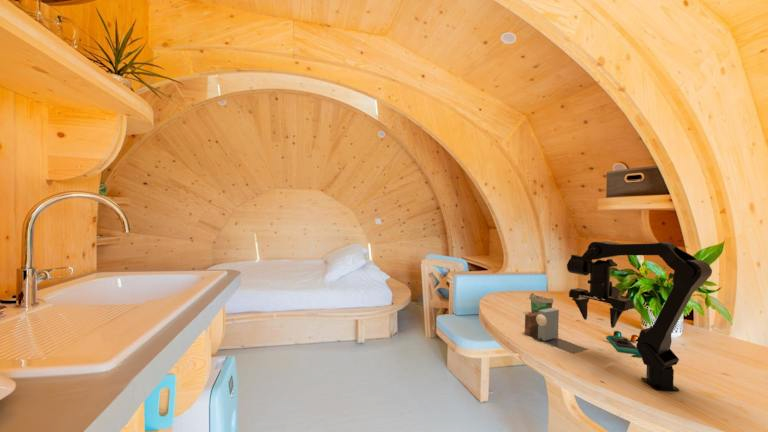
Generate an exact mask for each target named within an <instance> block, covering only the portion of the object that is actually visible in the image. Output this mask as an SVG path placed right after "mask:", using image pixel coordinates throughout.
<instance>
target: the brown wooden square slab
mask: <svg viewBox="0 0 768 432" xmlns="http://www.w3.org/2000/svg"><path fill="white" fill-rule="evenodd" d="M537 315H538V312H536V313H532V312H531V313H526V314H524V333H525V334H526V335H525V336H527V335H529V336H532V335H536V334H538V323H537V321H536V317H537ZM529 336H528V337H529Z"/></svg>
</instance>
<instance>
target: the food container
mask: <svg viewBox="0 0 768 432" xmlns="http://www.w3.org/2000/svg"><path fill="white" fill-rule="evenodd" d="M528 299H529V300H530V311H531V313H536V312H538V310H543V309H548V308H553V304H554V303H555V302H554V299H553V298H547V297H545V296H540V295H539V296H538V295H536V294H534V292H532V293H530V294H529V297H528Z"/></svg>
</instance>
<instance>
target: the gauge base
mask: <svg viewBox="0 0 768 432" xmlns="http://www.w3.org/2000/svg"><path fill="white" fill-rule="evenodd" d="M521 334H522V335H525V336H527V337H530V338H532V340H534V341H536V342H538V343H539V342H540V343H542V344H543V345H546V346H549V347H551V348H557V349H560V350H562V351H564V352H566V353H569V354H572V355H574V354H577V353H581V352H584V351H588V350H589V349H588V348H587V347H584V346H581V345H578V344H575V343H572V342H571V341H570V342H569V341H567V340H564V339H562V338H559V337H558V338H554V339H550V340H546V341H544V340H537V339H538V334H536V335H532V336H529V335H526V334H525V332H522V333H521Z"/></svg>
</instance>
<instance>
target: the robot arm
mask: <svg viewBox="0 0 768 432" xmlns="http://www.w3.org/2000/svg"><path fill="white" fill-rule="evenodd" d="M620 256H658V257H660V258H661V259H662V260H663V262H664V263H666V265H667V266H668V267H669V268H670V269H672V270H673V275H672V288H671V290H670V292H669V294H668V296H667V298H666V300H665V302H664V304H663V306H662V308H661V309H660V311H659V313H658V316H657V317H656V320H655V321H654V324H653V325H652V326H650V327H647V328H644V329H641V330H640V331H639V334H638V338H636V339H635V342H636V345H635V347H636V348H637V349H638V352H639V353H640V354H641V357H640V358H641V359H642V362H643V365H645V366H646V375H645V376H646V377H641V378H640V379H641V381H643V382H644V383H646V384H647V385H648V386H650V387H651V388H652V389H654V390H656V391H672V392H679V391H680V388H679V387H676V386H675V385H674V378H675V377H674V376H675V373H674V372H675V370H674V368H673V366H676V365H677V364H678V363H679V361H680V358H679V357H678V356H677V355H676V353H675V352H673V350H672V349H671V346H672V333H673V331H674V330H675V328H676V326H677V324H678V322H679V319H680V318H681V316H682V314H683V312H684V311H685V308H686V307H687V305H688V304H689V301H690V299H691V297H692V296H693V294H694V293H695V292H696V291H697V290H699V288H701V287H702V286H703V285H704V284H705V283H706V282H707V280H708V279H709V278H710V277H711V276H712V274H713V269H712V267H711V266H710V264H708V263H707V262H706V261H704V260H702V259H697V258H696V257H694V256H693V255H692V254H690V253H689V252H686V251H685V250H683V249H681V248H679V247H678V246H677V245H675V244H674V243H672V242H669V241H663V242H657V243H656V242H653V243H651V242H650V243H649V242H648V243H647V242H646V243H645V242H644V243H618V242H613V241H607V240H606V241H605V240H604V241H603V240H602V241H592V242H590V243H589V244H588V247H587V250H585V252H584V253H583V254H582V255H579V254H571V255H570V258H569V260H567V261H568V262H567V264H566V268H567V269H566V270H567V271H568V273H571V274H576V275H581V276H588V275H589V280H587V284H589V290H588V289H583V288H579V287H578V288H570V289H569V291H568V297H569V298H571V301H574V303H575V305H576V306H577V308H578V310H579V312H580V314H581V316H582V318H583V320H584V321H586V320H587V319H588V303H589V301H590V300H593V301H598V302H601V303H606V304H610V305H611V307H610V308H609V317H610V319H609V320H610V321H609V322H610V327H611V328H612V329H613V328H615V327H616V325H617V322H618V321H619V319H620V317H621V316H622V313H624V312H627V311H629V310H633V309H634V307H635V304H634V303H635V302H634V301H633V300H632V299H630V298H625V297H621V296H620V292H621V289H620V288H619V287H618V288H617V287H615V286H613V281H611V268H612V267H615V268H616V267H618V263H616V262H615V261H614V260H613V259H612V258H614V257H620ZM603 259H606V260H603ZM594 260H595V261H594ZM619 296H620V297H619Z"/></svg>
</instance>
